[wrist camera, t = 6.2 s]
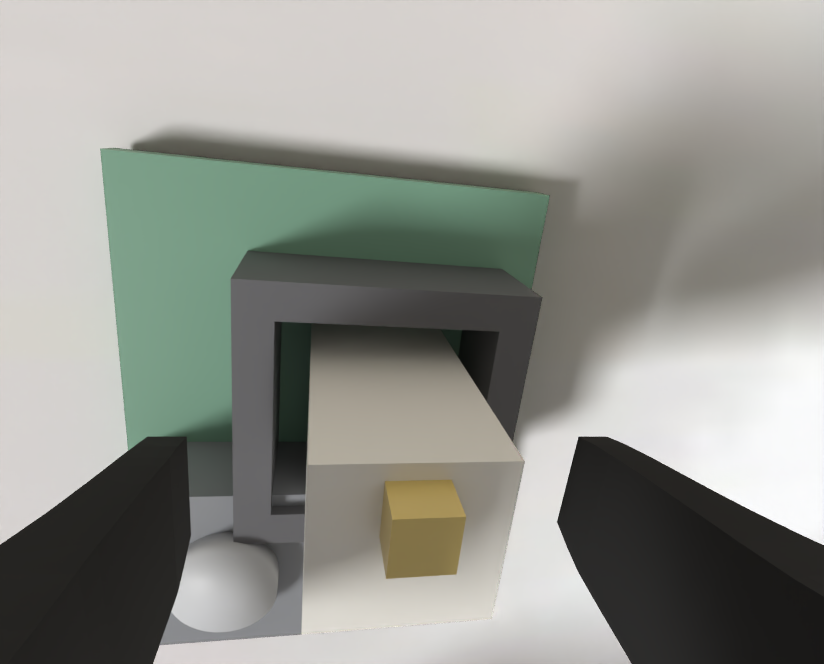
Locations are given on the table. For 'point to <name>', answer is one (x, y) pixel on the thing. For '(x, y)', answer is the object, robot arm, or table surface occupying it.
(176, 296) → the board
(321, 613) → the plug
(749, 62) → the table surface
